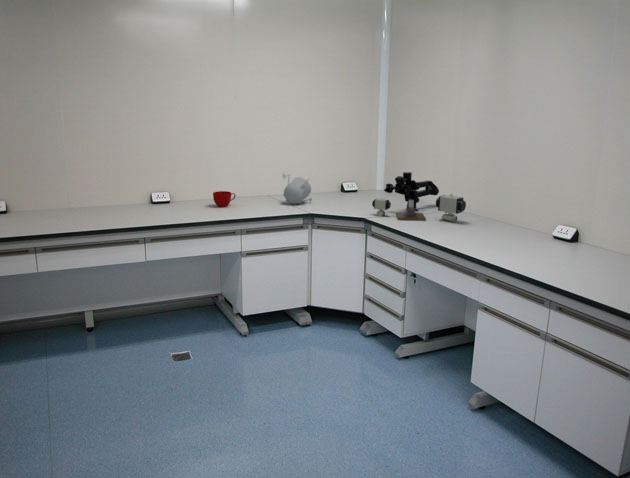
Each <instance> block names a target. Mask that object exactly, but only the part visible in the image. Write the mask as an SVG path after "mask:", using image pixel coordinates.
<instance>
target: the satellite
mask: <svg viewBox="0 0 630 478" xmlns="http://www.w3.org/2000/svg"><path fill="white" fill-rule="evenodd" d="M286 177H288V178H287V185H286V186H285V188H284V190H283V197H284V199H285V201H286V202H287V203H289V204H291V205H298V204H301V203H303V202H308V201H309V203H311V202H312V197H310V198H308V197H309V196H310V193H311V192H312V187H311V184H310V182H311V183H312V181H313V179H310V177H308V178H307V179H305V178H304V177H301V176H297V177H295V178H294V179H293V180H292V181H291V182H290V180H291V179H290V178H291V174H288V175H286V174H285V173H282V179H283V180H285V179H286ZM307 198H308V199H307Z"/></svg>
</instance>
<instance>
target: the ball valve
mask: <svg viewBox="0 0 630 478" xmlns="http://www.w3.org/2000/svg"><path fill="white" fill-rule="evenodd" d="M435 206H436V208H437V211H439V212H443V213H444V214H442V215H441V219H442V220H443V221H446V222H450V221H451V223H456V222H457V221H458V214H461V213H463V212H464V211H465V210H466V207H467V203H466V200H465V199H464V197H461V196H455V195H453V194H452V193H451V194H449V195H447V194H443V195H440V196H438V197H437V198H436V200H435ZM455 214H457V215H455Z"/></svg>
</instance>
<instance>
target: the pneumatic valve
mask: <svg viewBox="0 0 630 478" xmlns="http://www.w3.org/2000/svg"><path fill="white" fill-rule="evenodd" d="M371 205H372V207H373V209H374V210H377V211H376V214H377V216H379V217H383V216H385V215H386V212H385V211H387V210H389V209H391V207H392V206H391V205H392V203H391V201H390V199H386V198H385V199H384V198H383V197H381V198H375V199H374V200H372V203H371Z"/></svg>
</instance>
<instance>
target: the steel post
mask: <svg viewBox="0 0 630 478" xmlns="http://www.w3.org/2000/svg"><path fill="white" fill-rule="evenodd" d="M413 207H414V200H409V206H408V208H413Z"/></svg>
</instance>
